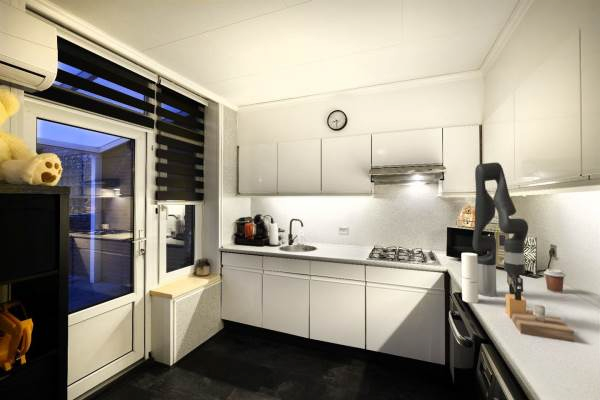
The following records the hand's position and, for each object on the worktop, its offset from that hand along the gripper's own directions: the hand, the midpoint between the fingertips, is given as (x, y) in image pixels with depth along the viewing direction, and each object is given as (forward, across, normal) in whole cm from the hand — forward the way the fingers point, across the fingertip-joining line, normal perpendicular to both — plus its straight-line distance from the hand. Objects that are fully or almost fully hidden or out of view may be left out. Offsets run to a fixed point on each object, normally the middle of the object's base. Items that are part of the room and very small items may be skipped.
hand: (515, 296), depth 122 cm
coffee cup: (+8, -48, +30) cm, 57 cm away
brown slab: (+9, +11, +5) cm, 16 cm away
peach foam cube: (+9, -1, +2) cm, 9 cm away
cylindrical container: (+9, -14, -16) cm, 23 cm away
